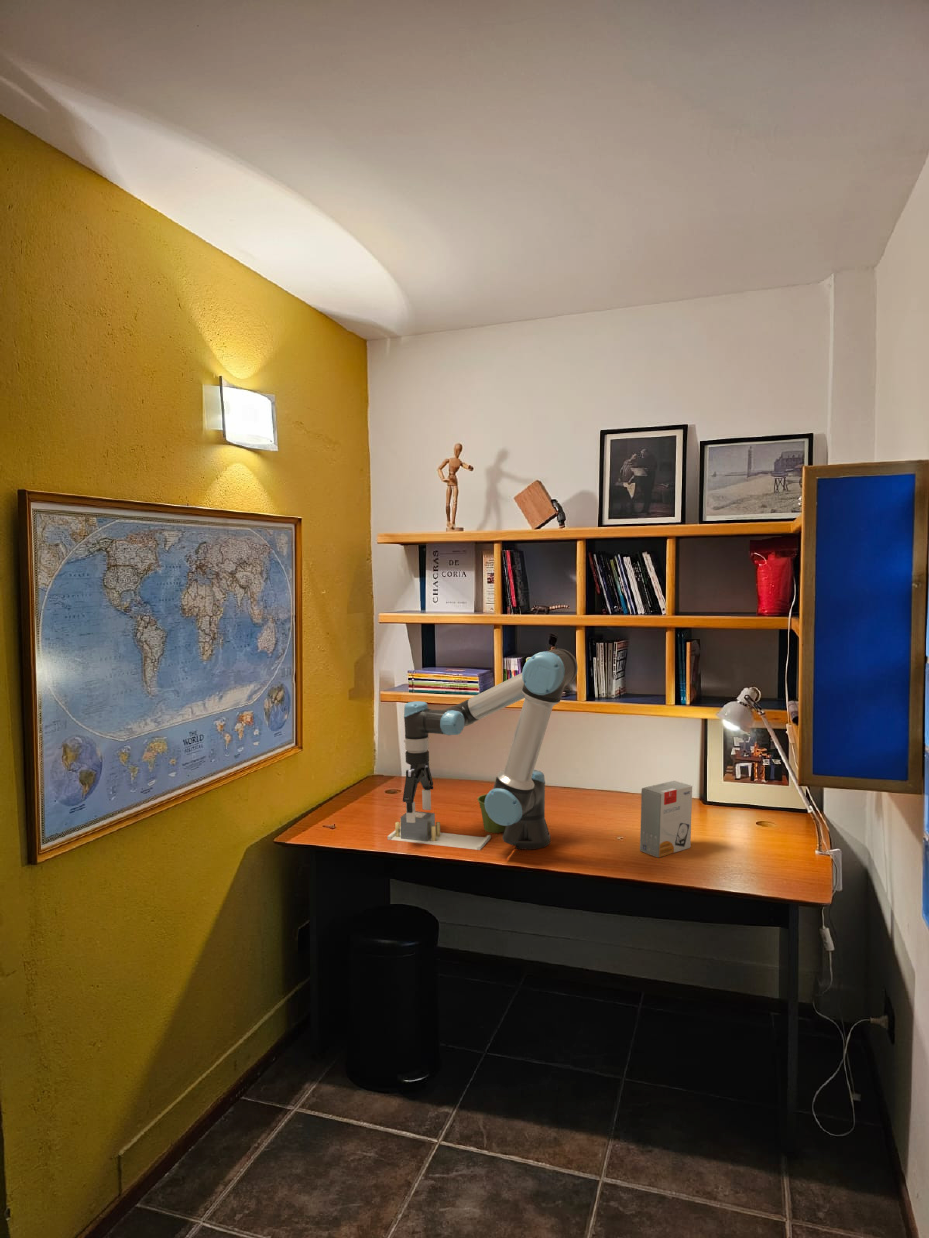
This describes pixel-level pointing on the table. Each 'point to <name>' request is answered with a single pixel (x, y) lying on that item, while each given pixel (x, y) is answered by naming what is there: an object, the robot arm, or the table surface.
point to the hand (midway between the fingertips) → (419, 815)
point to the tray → (444, 838)
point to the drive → (418, 826)
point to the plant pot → (487, 821)
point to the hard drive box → (665, 818)
